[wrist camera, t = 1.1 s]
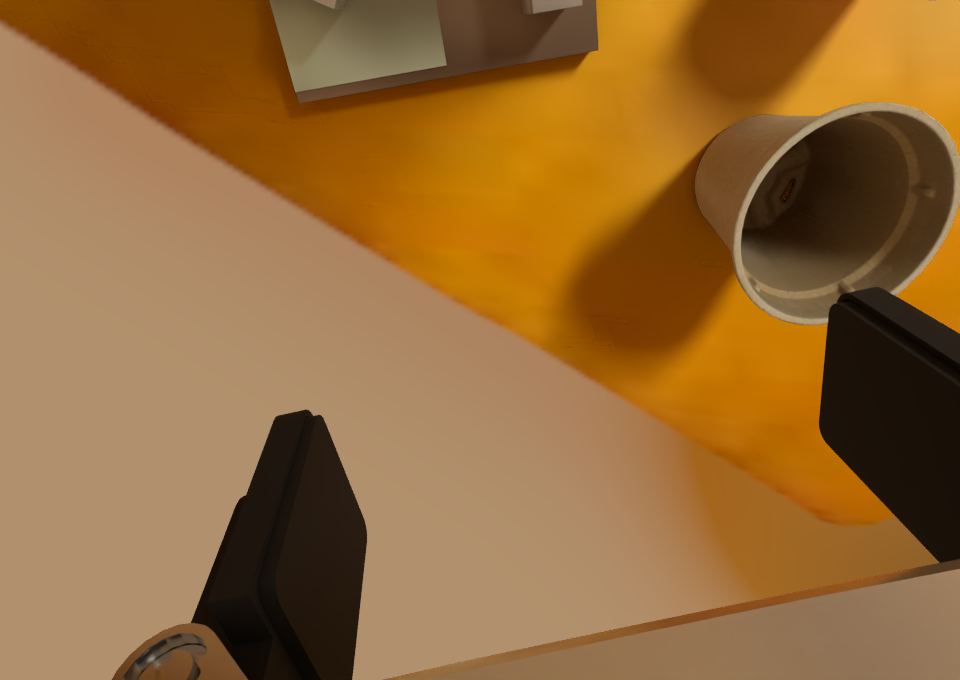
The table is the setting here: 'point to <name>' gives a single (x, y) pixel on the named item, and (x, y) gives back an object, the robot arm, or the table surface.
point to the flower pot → (829, 203)
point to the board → (422, 40)
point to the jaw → (333, 3)
